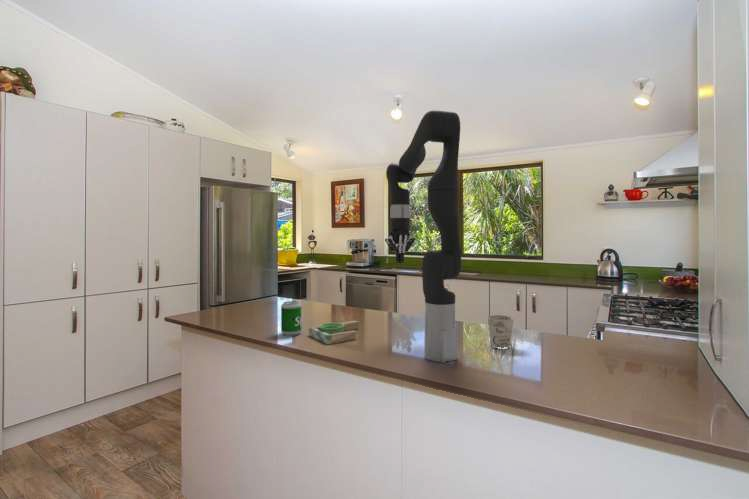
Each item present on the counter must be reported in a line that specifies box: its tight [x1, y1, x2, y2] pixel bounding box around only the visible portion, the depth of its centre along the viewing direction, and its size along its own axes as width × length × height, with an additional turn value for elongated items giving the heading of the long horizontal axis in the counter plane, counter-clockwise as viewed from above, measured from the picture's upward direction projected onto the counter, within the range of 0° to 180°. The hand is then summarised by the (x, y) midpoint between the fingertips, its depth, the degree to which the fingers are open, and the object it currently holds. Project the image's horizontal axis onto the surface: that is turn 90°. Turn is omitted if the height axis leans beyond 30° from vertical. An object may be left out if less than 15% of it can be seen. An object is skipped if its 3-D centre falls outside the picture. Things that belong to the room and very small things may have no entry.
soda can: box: [280, 300, 303, 337], centre depth 153 cm, size 8×8×12 cm
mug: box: [487, 314, 514, 348], centre depth 138 cm, size 8×13×10 cm, turn 152°
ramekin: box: [318, 322, 344, 334], centre depth 148 cm, size 9×9×4 cm
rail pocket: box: [308, 320, 359, 345], centre depth 150 cm, size 14×20×3 cm
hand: (399, 263), depth 152 cm, fingers closed
